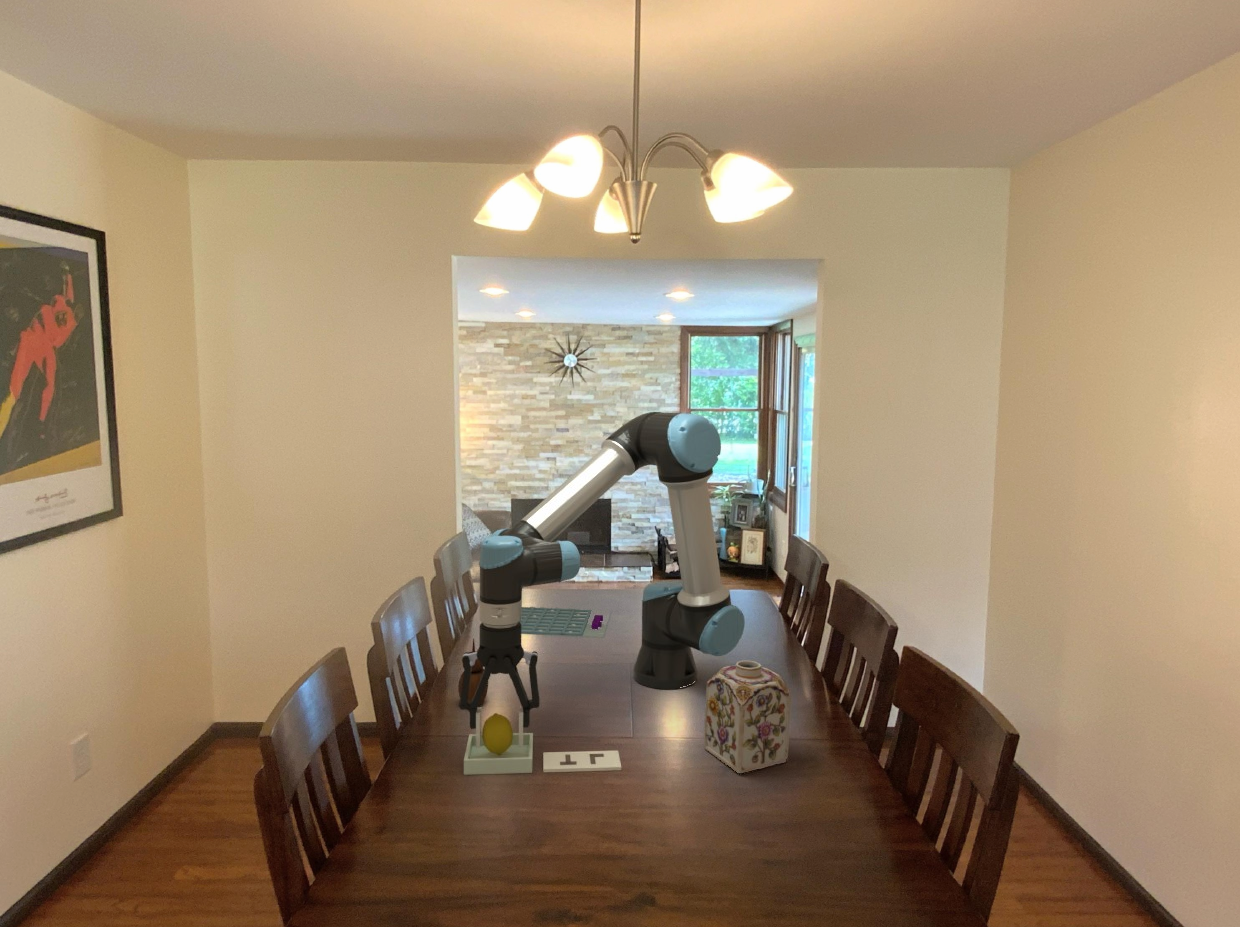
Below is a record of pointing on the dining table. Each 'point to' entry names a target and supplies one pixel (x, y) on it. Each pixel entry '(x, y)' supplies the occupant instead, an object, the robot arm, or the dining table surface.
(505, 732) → the lemon
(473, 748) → the dish
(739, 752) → the decorative jar
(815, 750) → the dining table surface
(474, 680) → the wooden figurine
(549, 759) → the tile
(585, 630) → the calendar
